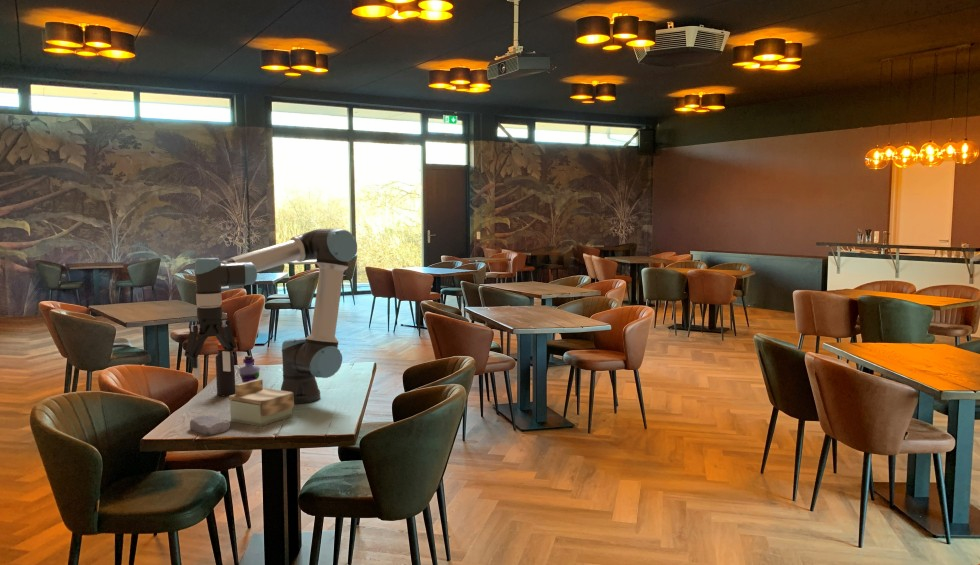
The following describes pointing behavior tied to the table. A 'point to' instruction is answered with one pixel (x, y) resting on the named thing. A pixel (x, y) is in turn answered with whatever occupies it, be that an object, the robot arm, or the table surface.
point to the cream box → (254, 414)
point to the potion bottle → (249, 370)
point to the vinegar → (224, 375)
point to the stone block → (209, 425)
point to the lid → (263, 397)
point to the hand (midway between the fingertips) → (212, 374)
